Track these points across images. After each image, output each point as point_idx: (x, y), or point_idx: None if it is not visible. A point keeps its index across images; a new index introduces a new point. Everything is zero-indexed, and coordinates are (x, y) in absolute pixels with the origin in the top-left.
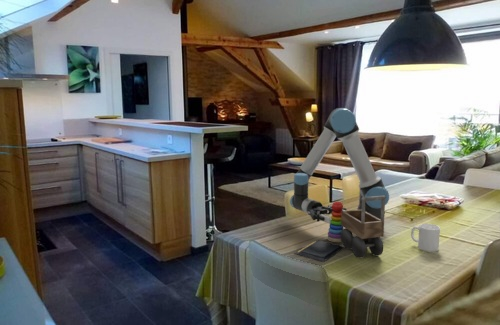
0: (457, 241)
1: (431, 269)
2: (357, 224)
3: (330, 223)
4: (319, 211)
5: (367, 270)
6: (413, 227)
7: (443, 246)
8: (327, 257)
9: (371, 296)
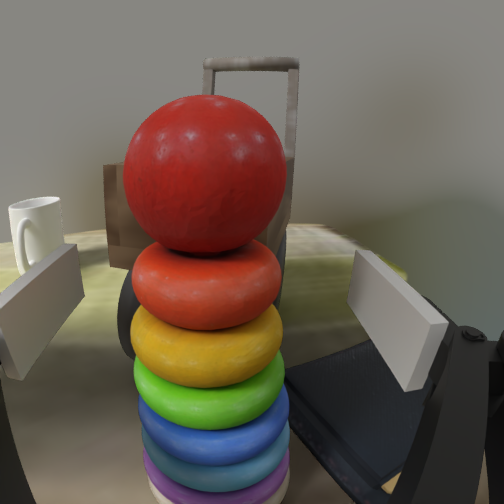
0: None
1: None
2: (290, 175)
3: (348, 301)
4: (433, 461)
5: (304, 271)
6: (22, 227)
7: (13, 262)
8: None
9: (355, 241)
